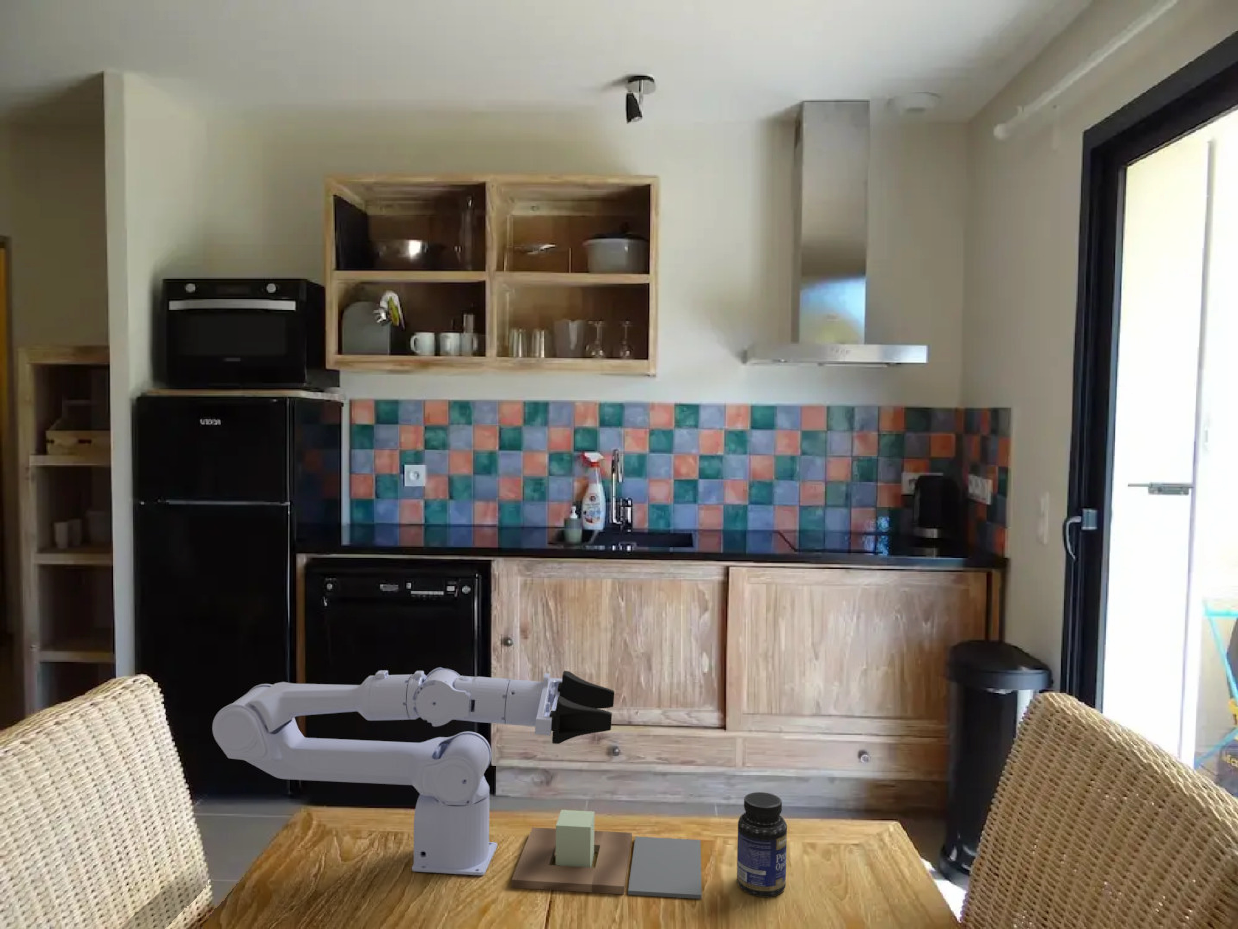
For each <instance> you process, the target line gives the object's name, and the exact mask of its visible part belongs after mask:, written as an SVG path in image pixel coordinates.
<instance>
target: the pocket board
mask: <svg viewBox="0 0 1238 929" xmlns="http://www.w3.org/2000/svg"><path fill="white" fill-rule="evenodd" d="M632 841H633V833H632V832H626V831H625V832H623V831H605V830H594V853H598V854H597V859H596V863H595V866H594V867H591V868H589V867H572V866H556V864H555V865H553V861H554V859H555V858H554V857H555V856H556V828H554V827H553V828H551V827H550V828H549V827H531V830H530V832H529V835H528V838H527V840H526V843H525V845H524V848H523V850H522V853H521V854H520V858H519V860H518V863H517V866H516V868H515V870H514V873H513V875H512V878H511V888H513V889H514V888H515V889H529V890H546V891H549V890H551V891H564V892H566V891H567V892H580V893H582V892H583V893H585V892H586V893H594V894H595V893H599V894H614V895H615V894H616V895H624V894H625V892H626V891H625V889H626V882H627V876H628V871H629V870H628V869H629V862H630V856H631V855H630V854H631V848H632V847H631V846H632Z"/></svg>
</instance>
